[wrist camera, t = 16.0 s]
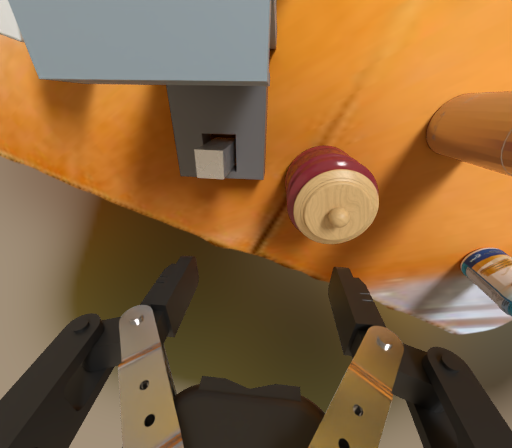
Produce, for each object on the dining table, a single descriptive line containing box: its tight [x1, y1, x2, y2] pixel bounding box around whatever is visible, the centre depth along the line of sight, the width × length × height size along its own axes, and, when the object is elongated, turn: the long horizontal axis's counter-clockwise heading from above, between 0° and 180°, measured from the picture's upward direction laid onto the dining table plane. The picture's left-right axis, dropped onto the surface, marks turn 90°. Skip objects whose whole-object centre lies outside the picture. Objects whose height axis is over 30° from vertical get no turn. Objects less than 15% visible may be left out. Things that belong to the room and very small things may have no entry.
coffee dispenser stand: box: [8, 0, 277, 86], centre depth 24 cm, size 17×8×24 cm, turn 89°
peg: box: [194, 138, 236, 179], centre depth 35 cm, size 4×4×12 cm
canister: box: [285, 146, 379, 244], centre depth 34 cm, size 13×13×18 cm
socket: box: [166, 85, 268, 180], centre depth 36 cm, size 15×17×5 cm
